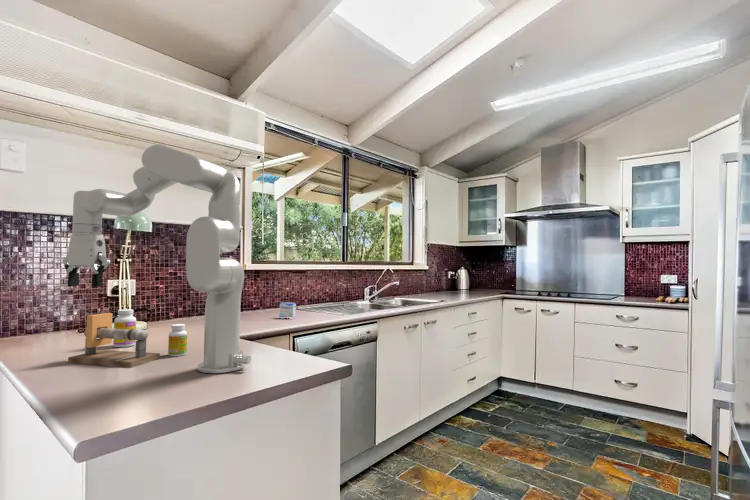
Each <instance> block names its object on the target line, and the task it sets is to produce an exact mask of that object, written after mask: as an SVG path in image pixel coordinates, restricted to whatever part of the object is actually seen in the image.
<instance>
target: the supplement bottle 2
mask: <svg viewBox="0 0 750 500" xmlns="http://www.w3.org/2000/svg"><path fill="white" fill-rule="evenodd" d="M170 327H171V331H170V332H168V351H167V354H168V356H169V357H182V356H185V355H187V353H188V352H187V351H188V348H187V347H188V332H187V331H186V330H185V329H186V324H184V323H175V324H171V326H170Z"/></svg>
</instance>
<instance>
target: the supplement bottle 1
mask: <svg viewBox="0 0 750 500" xmlns="http://www.w3.org/2000/svg"><path fill="white" fill-rule="evenodd" d="M117 314H118V316H116V317H115V318H114V321H113V326H114V327H113V329H128V330H131V329H134V330H137V318H136V317H135V316H134V309H130V308H129V309H128V308H127V309H125V308H124V309H118V311H117ZM112 340H113V341H112V342H113V345H112V346H113V347H114V348H130V347H134V346H136V340H124V339H112Z"/></svg>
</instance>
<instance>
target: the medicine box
mask: <svg viewBox="0 0 750 500" xmlns="http://www.w3.org/2000/svg"><path fill="white" fill-rule="evenodd" d="M278 314H279V317H295V316H296V315H297V302H279V313H278ZM296 317H297V316H296Z"/></svg>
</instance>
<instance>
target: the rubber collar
mask: <svg viewBox="0 0 750 500" xmlns="http://www.w3.org/2000/svg"><path fill="white" fill-rule="evenodd" d="M97 328H108V329H113V313H112V312H105V313H98V314H97V313H95V314H90V315H86V329H87V332H86V337H85V341H86V347H90V348H92V347H96V348H97V347H100V346H104V345H108V344H109V345H110V344H112V342H113V341H112V340H113V339H107V338H97Z"/></svg>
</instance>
